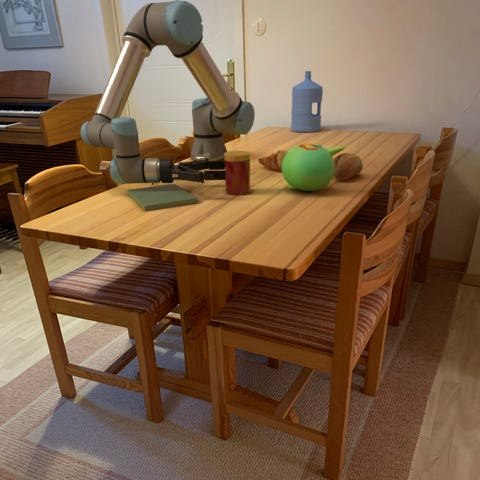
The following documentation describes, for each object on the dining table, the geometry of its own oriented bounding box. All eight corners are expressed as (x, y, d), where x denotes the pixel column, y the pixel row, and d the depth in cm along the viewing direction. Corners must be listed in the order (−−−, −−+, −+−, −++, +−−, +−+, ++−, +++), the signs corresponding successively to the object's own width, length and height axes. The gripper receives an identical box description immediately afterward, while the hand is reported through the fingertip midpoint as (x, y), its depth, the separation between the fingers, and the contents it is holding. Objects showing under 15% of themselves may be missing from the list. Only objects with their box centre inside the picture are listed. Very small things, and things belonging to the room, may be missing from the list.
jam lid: (220, 158, 152) (220, 152, 151) (242, 155, 155) (242, 149, 154) (230, 162, 146) (230, 156, 145) (253, 160, 149) (253, 153, 148)
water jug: (289, 132, 252) (291, 72, 238) (292, 128, 265) (293, 70, 251) (320, 132, 250) (323, 71, 236) (320, 128, 263) (324, 70, 249)
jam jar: (221, 190, 157) (219, 154, 152) (243, 187, 160) (242, 151, 155) (231, 196, 151) (230, 158, 145) (254, 193, 154) (254, 155, 148)
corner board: (128, 194, 156) (127, 189, 155) (175, 187, 162) (174, 183, 161) (145, 211, 140) (144, 205, 139) (197, 202, 146) (196, 198, 145)
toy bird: (272, 186, 161) (273, 139, 153) (316, 180, 166) (319, 134, 159) (299, 199, 146) (301, 149, 139) (346, 192, 152) (350, 143, 144)
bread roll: (324, 181, 165) (325, 156, 161) (340, 171, 176) (341, 148, 172) (351, 184, 161) (353, 159, 157) (365, 174, 172) (368, 151, 168)
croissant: (312, 179, 180) (317, 157, 180) (305, 171, 171) (310, 149, 171) (261, 173, 189) (265, 152, 188) (251, 165, 180) (255, 144, 179)
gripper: (168, 173, 166) (230, 172, 165) (153, 193, 144) (224, 192, 143) (166, 150, 162) (229, 149, 161) (151, 167, 141) (223, 166, 140)
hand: (227, 169), depth 152 cm, fingers open, 13 cm apart
